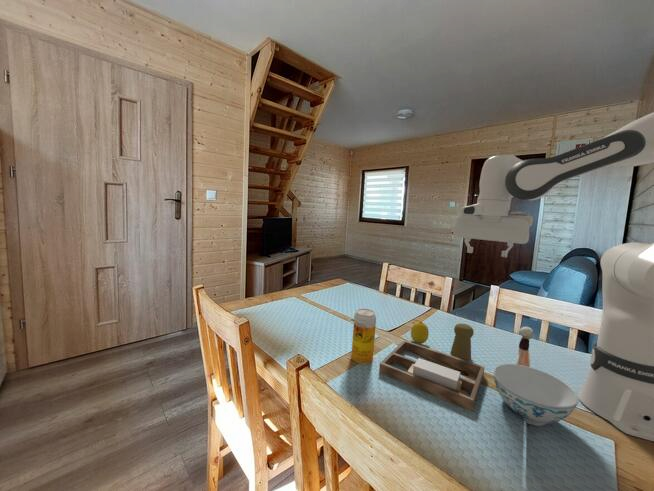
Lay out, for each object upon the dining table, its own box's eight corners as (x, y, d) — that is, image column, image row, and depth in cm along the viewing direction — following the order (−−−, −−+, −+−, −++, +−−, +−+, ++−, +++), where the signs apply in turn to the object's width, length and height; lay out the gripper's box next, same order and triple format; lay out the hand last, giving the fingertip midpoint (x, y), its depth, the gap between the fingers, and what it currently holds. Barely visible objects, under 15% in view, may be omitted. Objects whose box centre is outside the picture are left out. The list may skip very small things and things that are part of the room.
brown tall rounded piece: (474, 366, 82) (479, 330, 80) (452, 364, 83) (456, 328, 81) (467, 356, 88) (471, 322, 86) (446, 353, 89) (450, 320, 87)
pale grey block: (460, 389, 69) (462, 381, 69) (457, 399, 65) (459, 390, 65) (411, 371, 75) (412, 363, 75) (406, 379, 72) (407, 371, 71)
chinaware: (535, 393, 71) (539, 364, 70) (592, 443, 56) (599, 407, 55) (476, 391, 71) (480, 362, 69) (519, 441, 56) (524, 405, 55)
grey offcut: (459, 380, 69) (460, 372, 68) (456, 390, 65) (457, 381, 65) (417, 365, 74) (418, 357, 74) (412, 373, 70) (413, 365, 70)
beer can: (347, 364, 80) (351, 313, 78) (355, 354, 85) (359, 306, 83) (368, 370, 77) (372, 318, 75) (375, 360, 82) (379, 311, 80)
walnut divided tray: (482, 380, 75) (484, 366, 75) (471, 417, 62) (473, 400, 61) (402, 352, 88) (404, 340, 87) (378, 377, 74) (379, 363, 74)
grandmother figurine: (532, 377, 78) (539, 333, 76) (515, 373, 80) (522, 330, 78) (526, 363, 85) (532, 323, 83) (511, 360, 87) (517, 320, 85)
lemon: (429, 349, 91) (432, 325, 90) (412, 348, 91) (414, 324, 90) (424, 340, 96) (426, 318, 95) (407, 339, 96) (410, 317, 95)
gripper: (534, 212, 83) (527, 258, 85) (459, 208, 95) (454, 249, 97) (534, 212, 78) (526, 261, 80) (454, 208, 90) (449, 251, 92)
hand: (486, 254), depth 89 cm, fingers open, 8 cm apart
